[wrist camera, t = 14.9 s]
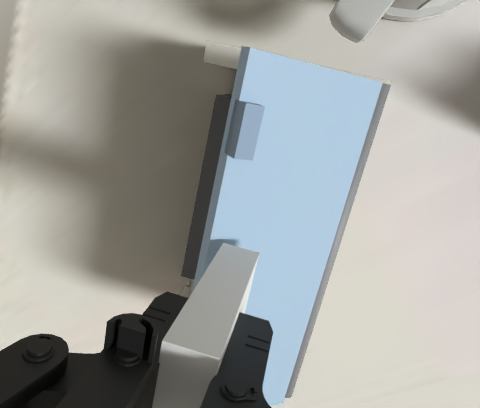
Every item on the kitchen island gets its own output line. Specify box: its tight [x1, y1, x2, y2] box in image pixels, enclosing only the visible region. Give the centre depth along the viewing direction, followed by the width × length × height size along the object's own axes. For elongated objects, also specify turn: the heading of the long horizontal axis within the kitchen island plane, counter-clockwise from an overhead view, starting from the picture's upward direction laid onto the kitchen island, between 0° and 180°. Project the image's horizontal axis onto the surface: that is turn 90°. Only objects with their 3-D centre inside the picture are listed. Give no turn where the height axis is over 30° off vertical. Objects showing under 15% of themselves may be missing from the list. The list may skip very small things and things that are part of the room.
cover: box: [192, 46, 391, 406], centre depth 19 cm, size 18×8×2 cm
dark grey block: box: [181, 94, 232, 292], centre depth 27 cm, size 13×4×3 cm, turn 167°
